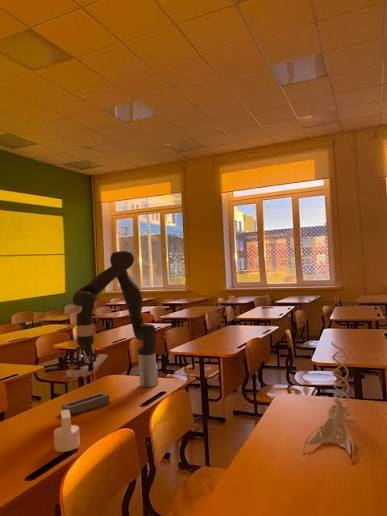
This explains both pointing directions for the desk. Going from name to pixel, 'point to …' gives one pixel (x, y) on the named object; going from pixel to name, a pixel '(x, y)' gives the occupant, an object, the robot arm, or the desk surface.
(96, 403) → the pen tray
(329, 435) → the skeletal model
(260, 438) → the desk surface
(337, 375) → the dna model
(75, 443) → the cylinder with rectangular tab
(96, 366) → the mobile phone
